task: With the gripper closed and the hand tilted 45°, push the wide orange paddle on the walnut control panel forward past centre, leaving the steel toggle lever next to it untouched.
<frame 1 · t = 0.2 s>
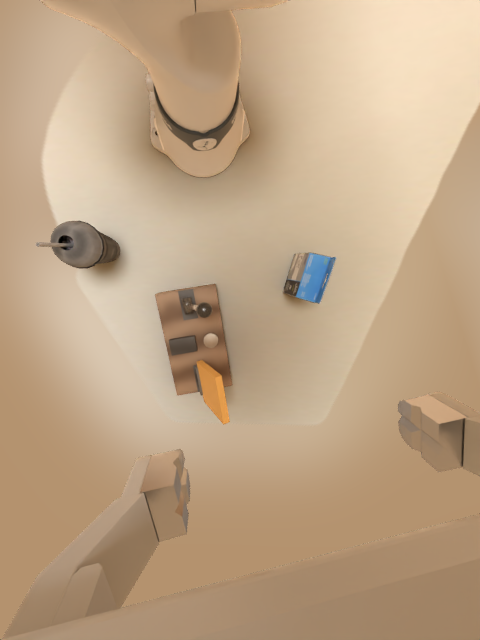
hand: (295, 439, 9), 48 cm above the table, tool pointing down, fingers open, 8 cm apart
steel toggle lever: (195, 307, 46), point 10 cm above the table, hinge at -22.0°
label tape box: (296, 275, 57), on the table
control panel: (196, 337, 57), on the table
orange paddle: (210, 388, 50), point 10 cm above the table, hinge at -22.0°
beverage cup: (108, 249, 52), on the table
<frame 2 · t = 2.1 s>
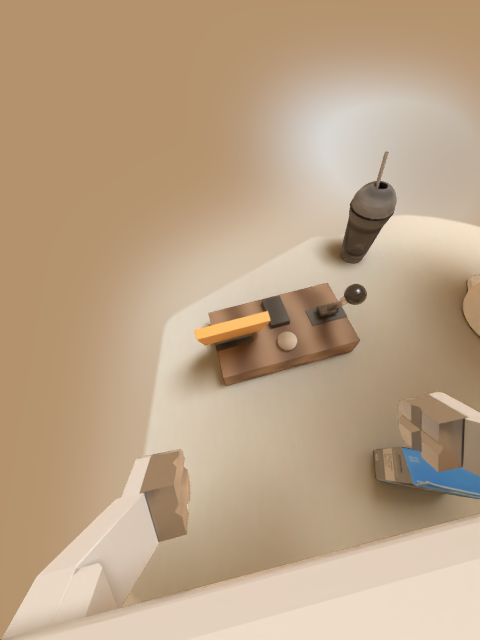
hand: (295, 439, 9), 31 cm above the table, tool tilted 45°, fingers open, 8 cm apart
steel toggle lever: (340, 302, 37), point 10 cm above the table, hinge at -22.0°
label tape box: (408, 472, 35), on the table
control panel: (278, 337, 46), on the table
orange paddle: (232, 331, 36), point 10 cm above the table, hinge at -22.0°
beverage cup: (351, 255, 55), on the table
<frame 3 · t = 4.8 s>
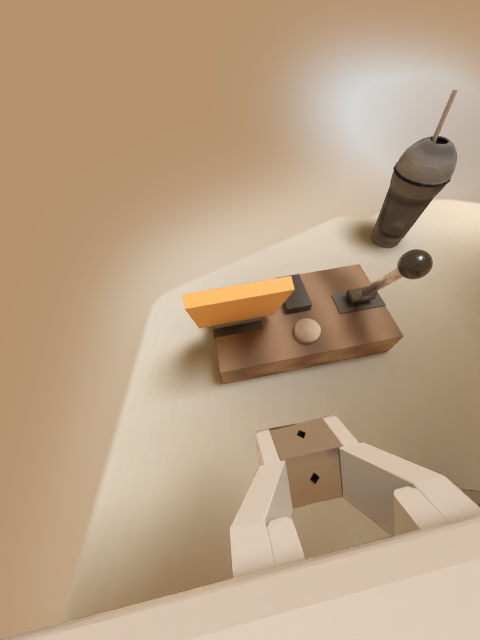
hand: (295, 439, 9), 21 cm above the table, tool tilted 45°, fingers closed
steel toggle lever: (384, 281, 27), point 10 cm above the table, hinge at -22.0°
control panel: (293, 327, 36), on the table
orange paddle: (237, 308, 26), point 10 cm above the table, hinge at -22.0°
beverage cup: (384, 239, 45), on the table
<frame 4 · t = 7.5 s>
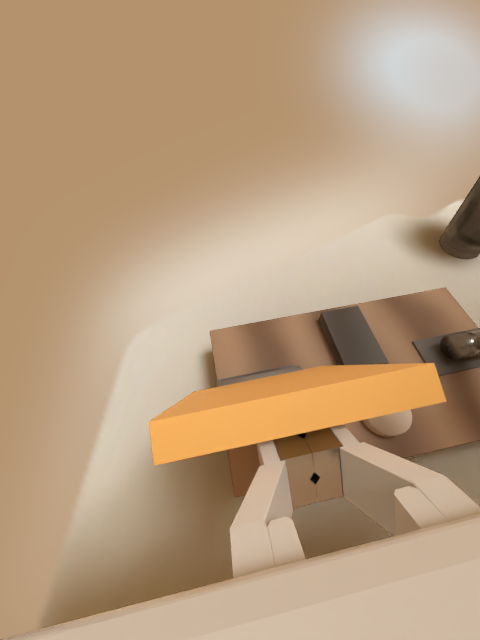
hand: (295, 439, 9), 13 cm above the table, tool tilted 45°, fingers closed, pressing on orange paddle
control panel: (345, 387, 23), on the table
orange paddle: (271, 393, 13), point 10 cm above the table, hinge at -21.9°, touching gripper
beverage cup: (458, 247, 32), on the table
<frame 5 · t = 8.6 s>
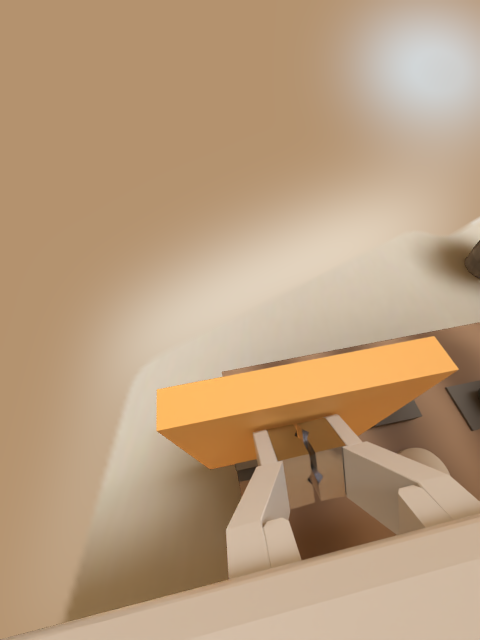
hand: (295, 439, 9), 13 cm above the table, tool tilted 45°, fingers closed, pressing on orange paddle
control panel: (368, 431, 21), on the table
orange paddle: (287, 425, 12), point 10 cm above the table, hinge at 3.9°, touching gripper
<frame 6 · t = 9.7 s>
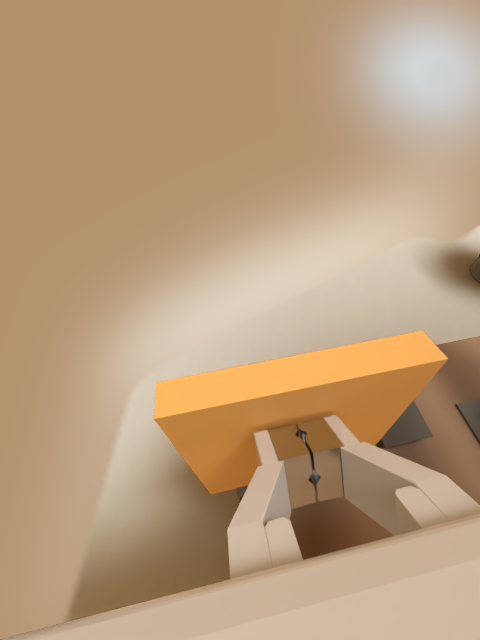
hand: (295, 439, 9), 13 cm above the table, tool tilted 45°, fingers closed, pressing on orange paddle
control panel: (374, 448, 21), on the table
orange paddle: (289, 438, 12), point 10 cm above the table, hinge at 12.7°, touching gripper
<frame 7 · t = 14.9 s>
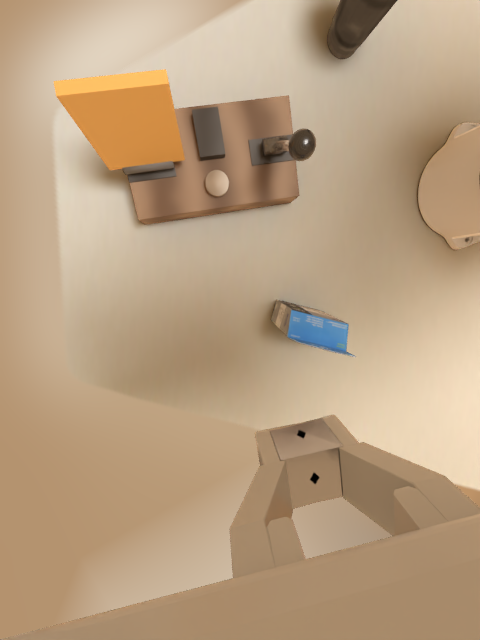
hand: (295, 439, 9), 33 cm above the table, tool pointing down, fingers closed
steel toggle lever: (287, 145, 29), point 10 cm above the table, hinge at -22.0°
label tape box: (296, 316, 44), on the table
control panel: (212, 169, 37), on the table
orange paddle: (135, 133, 27), point 10 cm above the table, hinge at 12.8°
beverage cup: (341, 40, 36), on the table
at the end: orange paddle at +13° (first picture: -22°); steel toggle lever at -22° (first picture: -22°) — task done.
